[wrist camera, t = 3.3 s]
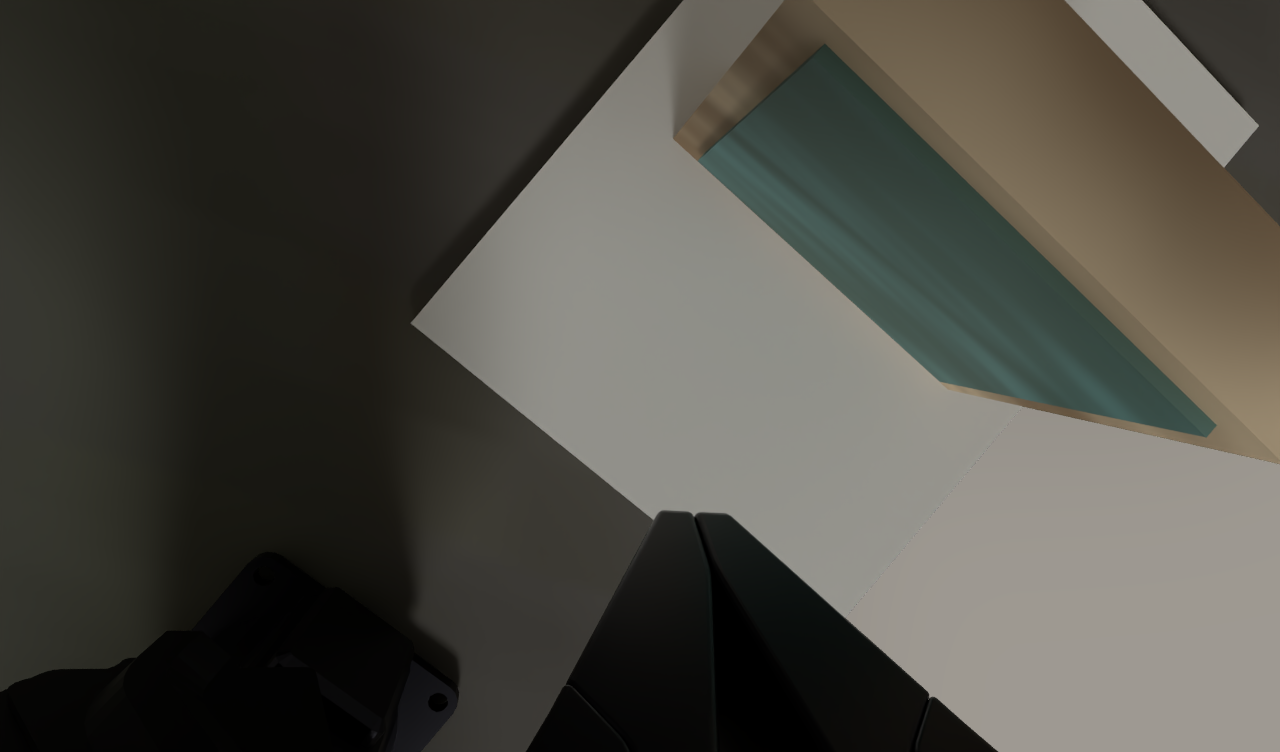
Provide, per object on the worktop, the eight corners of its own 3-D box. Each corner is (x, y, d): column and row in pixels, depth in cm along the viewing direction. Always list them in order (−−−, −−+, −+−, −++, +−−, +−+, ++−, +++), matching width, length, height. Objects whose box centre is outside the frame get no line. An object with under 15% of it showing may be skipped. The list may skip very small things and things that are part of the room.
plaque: (942, 396, 22) (1274, 478, 12) (666, 146, 20) (783, -1, 10) (1004, 322, 22) (1389, 341, 12) (734, 66, 20) (916, -158, 10)
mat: (809, 643, 23) (816, 652, 22) (414, 322, 20) (410, 322, 20) (1240, 130, 23) (1259, 126, 22) (891, -243, 21) (901, -259, 20)
